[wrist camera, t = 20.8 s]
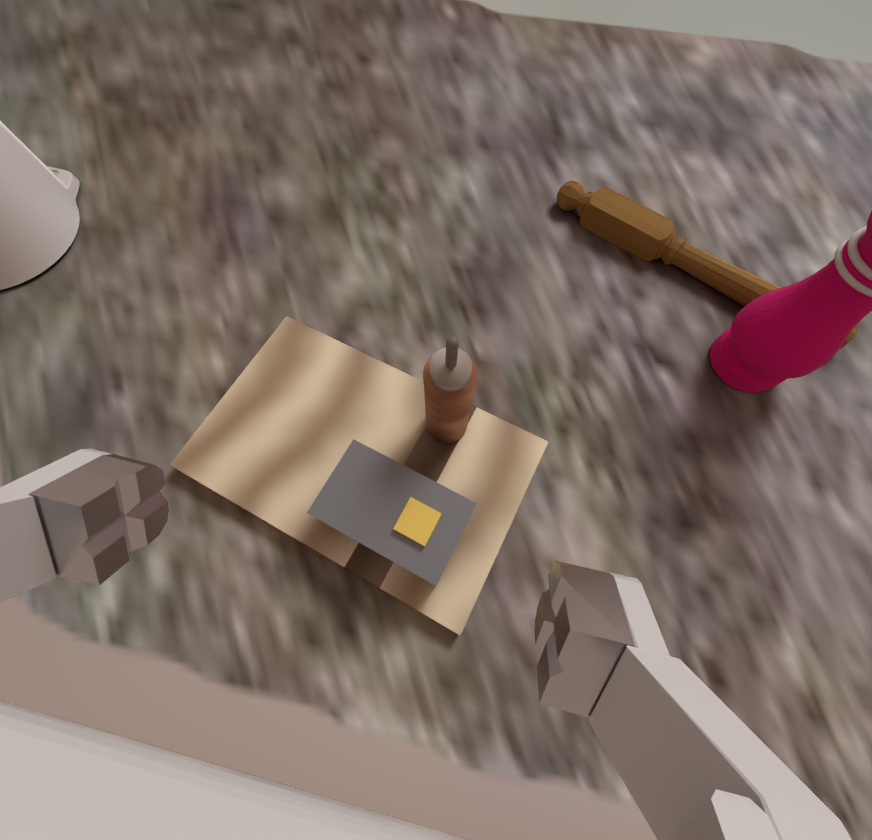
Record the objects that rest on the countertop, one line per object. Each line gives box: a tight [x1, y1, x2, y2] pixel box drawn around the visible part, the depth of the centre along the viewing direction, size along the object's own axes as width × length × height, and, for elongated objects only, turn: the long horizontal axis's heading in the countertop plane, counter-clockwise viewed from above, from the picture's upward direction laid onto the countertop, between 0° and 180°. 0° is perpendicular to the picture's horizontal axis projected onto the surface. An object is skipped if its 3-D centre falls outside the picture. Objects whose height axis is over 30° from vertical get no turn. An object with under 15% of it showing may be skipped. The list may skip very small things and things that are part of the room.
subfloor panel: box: [170, 316, 548, 635], centre depth 34 cm, size 26×16×1 cm, turn 62°
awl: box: [423, 337, 477, 444], centre depth 29 cm, size 3×3×13 cm
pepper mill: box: [710, 211, 872, 393], centre depth 29 cm, size 7×7×20 cm
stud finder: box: [307, 439, 477, 586], centre depth 30 cm, size 10×6×4 cm, turn 62°
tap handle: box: [557, 181, 857, 349], centre depth 41 cm, size 3×3×30 cm
